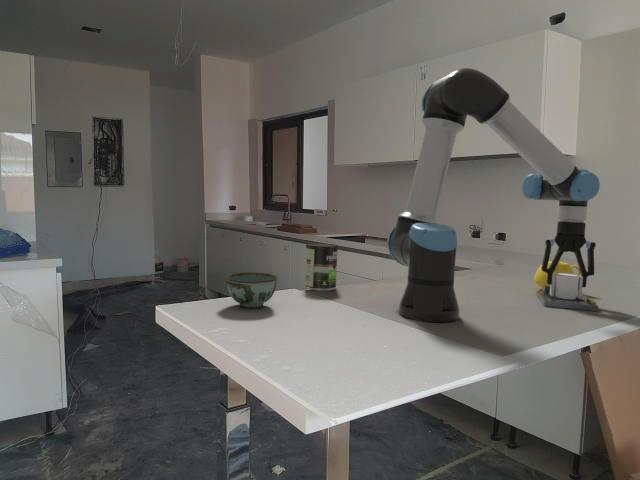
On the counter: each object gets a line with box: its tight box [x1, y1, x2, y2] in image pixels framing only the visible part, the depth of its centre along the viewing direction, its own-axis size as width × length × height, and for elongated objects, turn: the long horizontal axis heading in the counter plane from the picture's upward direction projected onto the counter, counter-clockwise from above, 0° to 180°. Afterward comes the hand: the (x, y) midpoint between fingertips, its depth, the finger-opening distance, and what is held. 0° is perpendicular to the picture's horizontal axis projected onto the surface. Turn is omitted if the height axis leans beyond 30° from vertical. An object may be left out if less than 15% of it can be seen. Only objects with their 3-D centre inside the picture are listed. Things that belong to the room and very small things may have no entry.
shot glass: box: [555, 273, 581, 299], centre depth 147 cm, size 7×7×7 cm
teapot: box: [533, 257, 581, 291], centre depth 165 cm, size 20×15×12 cm
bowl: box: [225, 271, 279, 310], centre depth 127 cm, size 14×13×8 cm
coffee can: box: [304, 242, 339, 292], centre depth 156 cm, size 10×10×14 cm
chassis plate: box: [535, 285, 600, 312], centre depth 147 cm, size 18×14×4 cm
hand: (565, 296), depth 147 cm, fingers closed on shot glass, 7 cm apart
